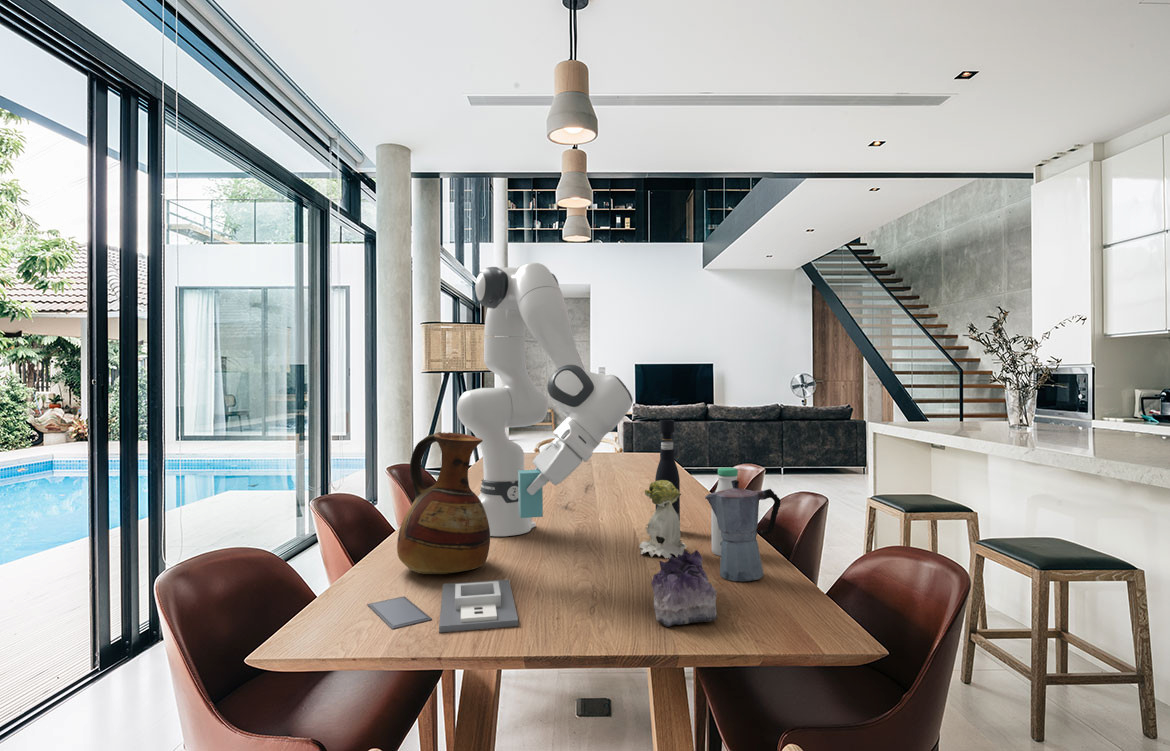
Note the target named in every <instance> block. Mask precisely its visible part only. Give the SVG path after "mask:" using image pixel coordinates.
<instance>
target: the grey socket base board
mask: <svg viewBox="0 0 1170 751" xmlns="http://www.w3.org/2000/svg"><path fill="white" fill-rule="evenodd" d="M441 592H442V593H441V601H440V611H439V612H440V613H439V625H438V632H439V633H449V632H450V633H451V632H459V631H460V632H461V631H462V632H463V631H471V630H472V631H473V630H486V629H497V628H507V627H509V628H510V627H512V628H513V627H519V617H518V612H517V609H516V608H517V607H516V604H515V600H514V595H513V591H512V587H511V582H510V579H509V578H508V579H494V580H492V579H491V580H481V581H480V580H479V581H465V582H464V581H463V582H450V583H448V582H447V583H442V591H441Z"/></svg>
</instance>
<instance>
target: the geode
mask: <svg viewBox="0 0 1170 751" xmlns="http://www.w3.org/2000/svg"><path fill="white" fill-rule="evenodd" d="M658 562H659V567H660V570H659V571H658V572H656V573H655V574H654V575H653V576H652V579H651V582H650V584H651V586H652V591H653V608H654V612H655V621H656V622H657V623H661V624H662V625H663V626H664V627H666V628H667V627H672V626H675V625H676V626H680V625H686V624H692V623H701V622H702V623H703V622H705V623H708V622H714V621H716V620H718V613H717V603H716V600H717V589H716V588H715V587H714V586H713V585H712V583H711V582H709V578H708V575H707V573H706V571H705V570H704V567H703V556H702V554H700V552H699V551H698V550H697V549H696V550H694V552H692V554H691V553H690V552H689V551H686V550H684V552H683V554H682V555H679V554H678V556H677V557H674V556H673V555H672V557H670V558H669V557H668V561H662V560H660V561H658Z"/></svg>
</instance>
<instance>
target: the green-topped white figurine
mask: <svg viewBox="0 0 1170 751" xmlns="http://www.w3.org/2000/svg"><path fill="white" fill-rule="evenodd" d="M643 492H644V494H645V496H646V497H648V498H649V499H650V500H651V503H652V504H653V505H656V504H657V505H658V507H657V509H656V508H655V510H652V512H653V514H652V516H651V518H650V519H649V521H648V523H647V524H646V527H645V530H646V534H647V535H648V536H649V537H650V540H645V541H642V542H641V543H640V544H639V546H638V547H639V549H640V554H641V555H643V554H646V553H647V552H648V555H650V557H651V558H652V557H653V556H654V555H657V556H658V558H659V557H661V556H663V558H664V559H666V558H667V559H669V558H670V557H672V556H673V555H674V556H675V557H674V558H677V556H678V554H679V555H682V554H683V552H684V551H685V549H686V548H687V547H688V546H687V545H686V544H685V543H684V542H682V539H681V520H680V521H679V517H678V515H677V513H676V511H675V510H674V508H673V506H672V503H673V502H675V501H676V500H677V498H678V497H680V498H681V495H682V494H681V493H679V491H678V489H676V488H675V486H674V485H673V484H672V483H671V482H669V481H667V480H658V481H652V482H651V483H650V484H649V488H648V489H644V490H643ZM652 512H651V513H652Z"/></svg>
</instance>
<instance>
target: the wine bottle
mask: <svg viewBox="0 0 1170 751" xmlns="http://www.w3.org/2000/svg"><path fill="white" fill-rule="evenodd" d="M659 433H660V434H661V433H662V434H661V436H662V437H661V439H662V441H661V443H660V445H661V446H660V450H659V462H658V465H657V468H656V473H655V479H654V480H655V481H658V480H667V481H669V482H671V483H672V484H673V485H674V486H675V488H676V489H678V491H679V493H680V490H681V487H680V485H681V484H680V482H681V481H680V474H679V470H678V467H677V463H676V461H675V460H676V459H675V449H674V442H673V433H675V420H673V419H660V420H659ZM655 481H654V482H655ZM680 494H681V493H680ZM672 506H673V508H674V510H675V511H676V513H677V515H678V517H679V521H680V522H681V496H680V497H678V498H677V500H676V501H675V502H673V503H672ZM657 507H658V505H657V504H655V510H656V509H657Z"/></svg>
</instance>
